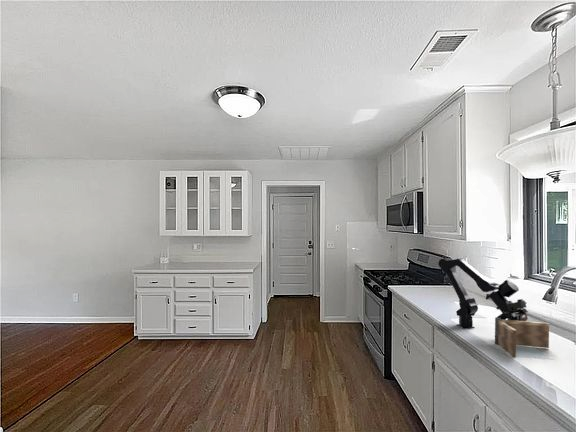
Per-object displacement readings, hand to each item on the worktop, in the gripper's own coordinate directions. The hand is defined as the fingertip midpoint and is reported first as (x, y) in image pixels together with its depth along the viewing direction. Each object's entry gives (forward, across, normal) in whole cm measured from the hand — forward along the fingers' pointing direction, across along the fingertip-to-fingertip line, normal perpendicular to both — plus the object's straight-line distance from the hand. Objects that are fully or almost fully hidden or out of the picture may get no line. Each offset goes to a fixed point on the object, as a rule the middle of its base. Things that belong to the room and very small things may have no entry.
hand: (525, 331), depth 162 cm
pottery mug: (-10, +36, +20) cm, 42 cm away
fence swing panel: (+5, -4, +3) cm, 7 cm away
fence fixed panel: (+4, -17, +4) cm, 18 cm away
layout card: (+6, -11, +2) cm, 13 cm away
